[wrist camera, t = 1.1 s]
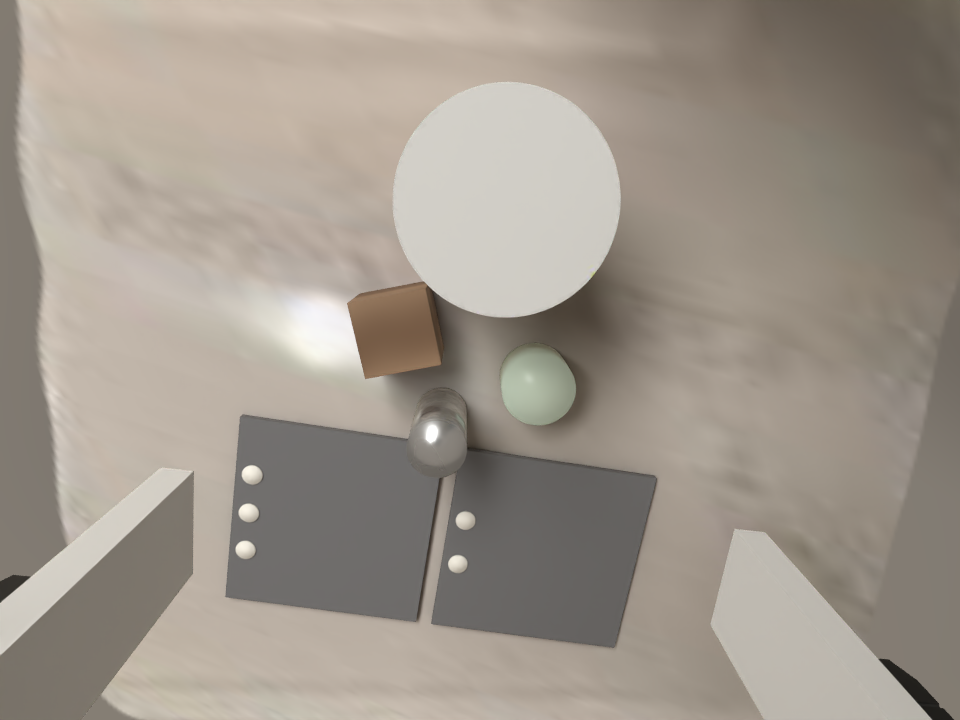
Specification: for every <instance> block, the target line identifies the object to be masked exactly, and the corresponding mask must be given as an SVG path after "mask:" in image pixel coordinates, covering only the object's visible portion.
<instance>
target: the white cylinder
mask: <svg viewBox="0 0 960 720" xmlns="http://www.w3.org/2000/svg"><path fill="white" fill-rule="evenodd" d="M620 202H621V198H620V182H619V177H618V172H617V168H616V164H615V161H614V158H613V155H612V153H611V150H610V148H609V146H608V144H607V142H606V140H605V138H604V137H603V135H602V134H601V132H600V131H599V129H598V128H597V127H596V125H595V124H594V123H593V122H592V120H591V119H590V118H589V117H588V116H587V115H586V114H585V113H584V112H583V111H582V110H581V109H580V108H578V107H577V106H576V105H575V104H573V103H572V102H570V101H569V100H567V99H566V98H564V97H562V96H561V95H559V94H557V93H555V92H553V91H550V90H548V89H545V88H542V87H539V86H535V85H532V84H526V83H519V82H496V83H489V84H484V85H480V86H476V87H473V88H470V89H467V90H465V91H463V92H460V93H458V94H456V95H455V96H453V97H451V98H449V99H448V100H446V101H445V102H443V103H442V104H441V105H439V106H438V107H437V108H435V109H434V110H433V111H432V112H431V113H430V114H429V115H428V116H427V117H426V118H425V119H424V120H423V121H422V122H421V124H420V125H419V126H418V127H417V129H416V130H415V131H414V133H413V134H412V136H411V137H410V139H409V141H408V143H407V144H406V147H405V149H404V151H403V153H402V155H401V158H400V161H399V164H398V167H397V171H396V175H395V180H394V187H393V214H394V221H395V227H396V231H397V235H398V238H399V241H400V244H401V246H402V248H403V251H404V253H405V255H406V257H407V259H408V261H409V262H410V264H411V265H412V267H413V269H414V270H415V271H416V273H417V274H418V275H419V276H420V278H421V279H422V280H423V281H424V282H425V283H426V284H427V285H428V286H429V287H430V288H431V289H432V290H433V291H434V292H436V293H437V294H438V295H439V296H441V297H442V298H444V299H445V300H447V301H448V302H450V303H452V304H454V305H456V306H458V307H460V308H462V309H464V310H467V311H470V312H473V313H476V314H480V315H484V316H491V317H520V316H527V315H531V314H535V313H538V312H541V311H544V310H547V309H549V308H552V307H554V306H556V305H558V304H560V303H561V302H563V301H565V300H566V299H568V298H569V297H571V296H572V295H573V294H575V293H576V292H577V291H578V290H580V289H581V288H582V287H583V286H584V285H585V284H586V283H587V282H588V281H589V280H590V279H591V277H592V276H593V275H594V274H595V272H596V271H597V270H598V268H599V267H600V265H601V264H602V262H603V261H604V259H605V257H606V255H607V253H608V251H609V249H610V247H611V245H612V242H613V239H614V236H615V233H616V230H617V225H618V221H619V214H620Z"/></svg>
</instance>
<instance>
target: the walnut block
mask: <svg viewBox="0 0 960 720" xmlns="http://www.w3.org/2000/svg"><path fill="white" fill-rule="evenodd" d="M347 305H348V309H349V313H350V317H351V321H352V326H353V330H354V334H355V338H356V342H357V346H358V351H359V355H360V359H361V363H362V367H363V372H364V376H365V379H368V378H373V377H379V376H384V375H389V374H395V373H400V372H405V371H411V370H416V369H422V368H427V367H432V366H438V365H441V364H442V357H443V351H444V346H443V341H442V336H441V332H440V327H439V322H438V317H437V312H436V307H435V302H434V297H433V292H432V289H431V288H430V287H429V286H428V285H427V284H426V283H425V282H418V283H413V284H408V285H402V286H397V287H392V288H387V289H381V290H376V291H371V292H366V293H360V294H359V295H358V296H356V297H355V298H354V299H352V300H351V301H350V302H348V303H347Z"/></svg>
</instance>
